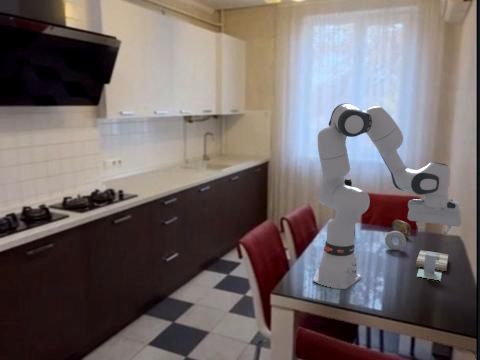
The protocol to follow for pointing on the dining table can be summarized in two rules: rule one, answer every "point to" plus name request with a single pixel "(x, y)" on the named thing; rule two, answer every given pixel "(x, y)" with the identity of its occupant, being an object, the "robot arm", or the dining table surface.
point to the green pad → (436, 276)
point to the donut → (395, 235)
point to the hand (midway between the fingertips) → (432, 233)
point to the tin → (401, 227)
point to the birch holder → (440, 260)
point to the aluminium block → (430, 264)
